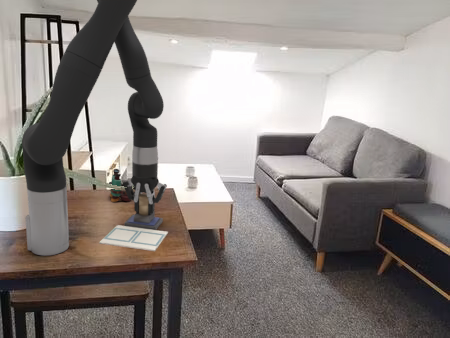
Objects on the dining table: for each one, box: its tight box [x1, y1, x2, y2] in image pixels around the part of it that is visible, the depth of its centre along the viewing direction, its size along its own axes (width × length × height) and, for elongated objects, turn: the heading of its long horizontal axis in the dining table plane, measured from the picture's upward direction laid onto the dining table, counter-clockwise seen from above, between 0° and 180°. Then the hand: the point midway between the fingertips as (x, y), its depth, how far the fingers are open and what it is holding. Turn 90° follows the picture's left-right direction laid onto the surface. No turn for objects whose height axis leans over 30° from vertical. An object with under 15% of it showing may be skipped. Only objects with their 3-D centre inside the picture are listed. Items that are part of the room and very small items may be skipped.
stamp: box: [134, 192, 156, 223], centre depth 122 cm, size 5×5×8 cm
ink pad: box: [123, 213, 164, 230], centre depth 123 cm, size 10×7×2 cm
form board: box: [99, 224, 169, 252], centre depth 114 cm, size 16×12×1 cm
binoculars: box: [108, 168, 136, 203], centre depth 142 cm, size 9×11×10 cm
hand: (144, 213), depth 123 cm, fingers closed on stamp, 3 cm apart
